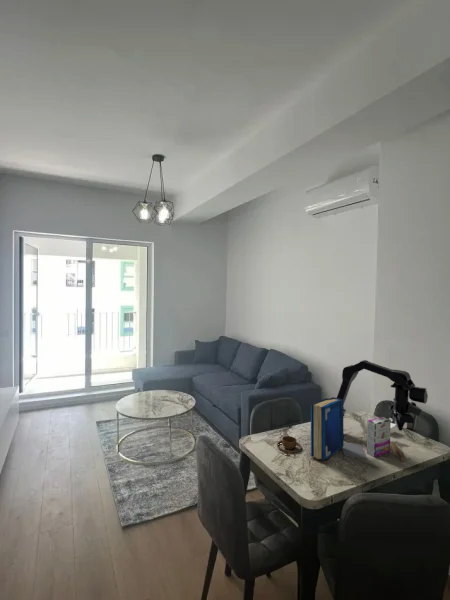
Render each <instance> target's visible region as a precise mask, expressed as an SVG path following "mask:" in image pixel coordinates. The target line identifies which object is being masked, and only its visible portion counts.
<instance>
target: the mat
mask: <svg viewBox="0 0 450 600" xmlns="http://www.w3.org/2000/svg"><path fill="white" fill-rule="evenodd" d="M341 449H342V454H343V456H345V457H352V458H359V459H368V458H367V455H366V453H365V451H364V449H363V447H362V444H360V443H350V442H344V446H343V447H342V448H341Z"/></svg>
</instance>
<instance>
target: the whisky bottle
mask: <svg viewBox="0 0 450 600" xmlns="http://www.w3.org/2000/svg"><path fill="white" fill-rule="evenodd" d="M388 419H390V420H391V422H390V430H391V429H392V428H395V426H397V424H396V422H395V421H394V423H392V422H393V418H391V417H389V418H388ZM403 429H408V423H405V424H404V426H403Z"/></svg>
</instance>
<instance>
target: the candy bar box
mask: <svg viewBox="0 0 450 600" xmlns="http://www.w3.org/2000/svg"><path fill="white" fill-rule="evenodd" d="M390 423H392V422H391V420H390V419H389V418H387V417H384V416H379V417H375V418H372V419H371V418H370V419H368V420H367V424H366V426H367V427H366V434H367V435H366V454H367V455H368V456H371V457H373V458H377V457H380V456H383V455H387V454H390V453H391V448H390V447H391V429H390Z"/></svg>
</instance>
